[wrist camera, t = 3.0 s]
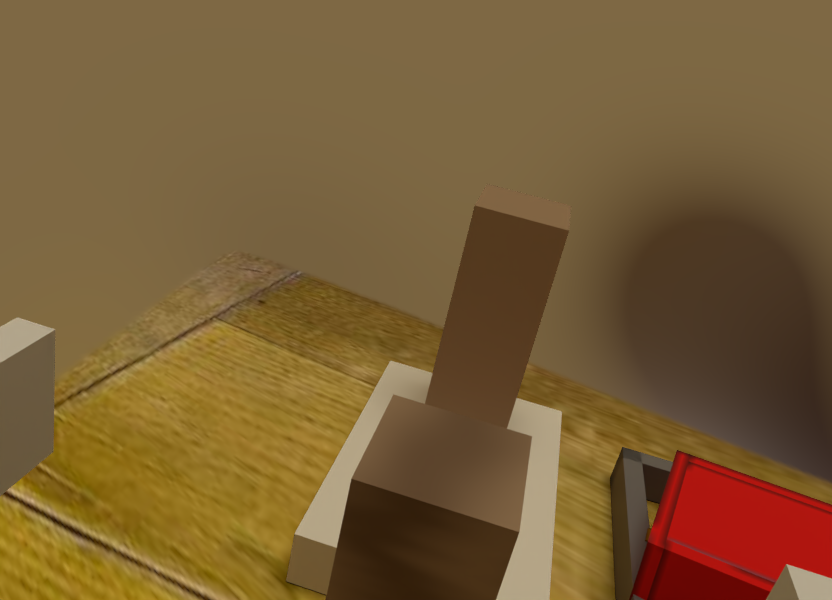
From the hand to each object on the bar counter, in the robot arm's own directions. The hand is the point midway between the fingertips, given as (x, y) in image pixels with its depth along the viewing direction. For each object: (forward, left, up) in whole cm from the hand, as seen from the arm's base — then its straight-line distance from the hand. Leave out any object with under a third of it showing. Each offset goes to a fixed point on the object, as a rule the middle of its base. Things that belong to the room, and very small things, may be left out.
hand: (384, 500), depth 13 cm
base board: (-1, -24, -19) cm, 31 cm away
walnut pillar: (-1, -9, -19) cm, 21 cm away
